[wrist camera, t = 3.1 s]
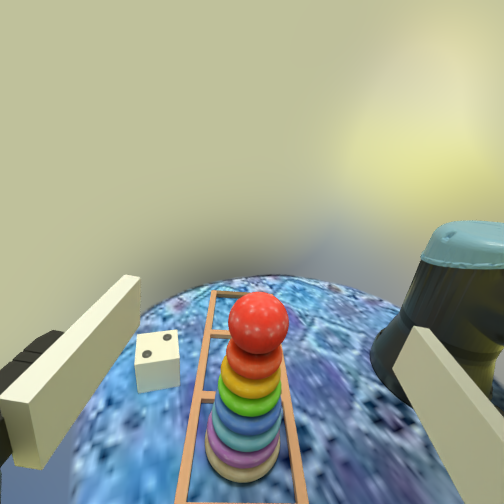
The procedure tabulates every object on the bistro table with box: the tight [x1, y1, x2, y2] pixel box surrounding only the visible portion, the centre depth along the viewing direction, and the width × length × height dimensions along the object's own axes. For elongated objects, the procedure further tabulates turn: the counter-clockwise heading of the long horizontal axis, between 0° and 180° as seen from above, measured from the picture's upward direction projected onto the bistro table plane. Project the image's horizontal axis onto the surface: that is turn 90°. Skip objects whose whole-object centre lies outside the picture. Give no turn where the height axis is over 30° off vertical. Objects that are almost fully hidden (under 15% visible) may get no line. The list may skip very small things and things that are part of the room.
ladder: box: [174, 290, 309, 504], centre depth 39 cm, size 12×34×1 cm, turn 1°
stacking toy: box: [205, 292, 289, 483], centre depth 26 cm, size 8×8×19 cm
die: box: [134, 330, 180, 394], centre depth 36 cm, size 5×5×5 cm
